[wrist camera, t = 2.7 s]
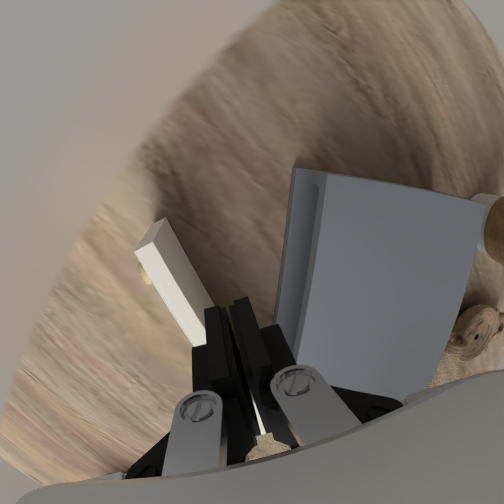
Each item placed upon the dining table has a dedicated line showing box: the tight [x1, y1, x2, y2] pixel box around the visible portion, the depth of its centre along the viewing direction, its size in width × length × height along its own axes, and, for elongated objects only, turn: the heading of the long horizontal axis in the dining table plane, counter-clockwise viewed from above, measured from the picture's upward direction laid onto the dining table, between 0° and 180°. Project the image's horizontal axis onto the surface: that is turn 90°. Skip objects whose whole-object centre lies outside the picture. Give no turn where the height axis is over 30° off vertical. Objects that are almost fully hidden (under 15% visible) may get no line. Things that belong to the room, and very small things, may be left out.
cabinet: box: [273, 167, 485, 401], centre depth 24 cm, size 20×14×7 cm
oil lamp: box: [444, 304, 504, 362], centre depth 30 cm, size 13×8×5 cm, turn 84°
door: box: [134, 217, 266, 438], centre depth 23 cm, size 18×2×7 cm, turn 24°
